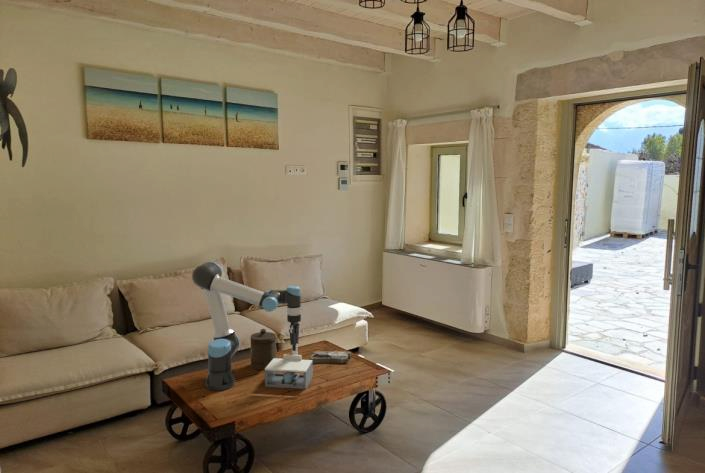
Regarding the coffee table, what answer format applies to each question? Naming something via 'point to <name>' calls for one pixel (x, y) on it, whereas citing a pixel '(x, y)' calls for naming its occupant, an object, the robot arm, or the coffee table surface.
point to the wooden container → (262, 349)
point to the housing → (299, 382)
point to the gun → (330, 357)
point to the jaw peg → (288, 378)
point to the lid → (289, 364)
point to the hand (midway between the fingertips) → (294, 355)
